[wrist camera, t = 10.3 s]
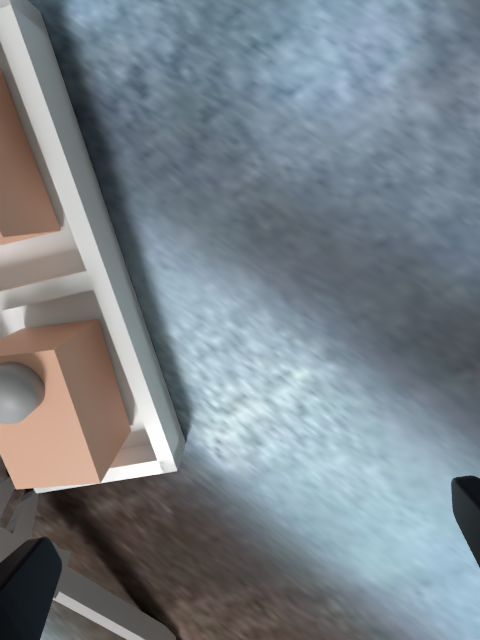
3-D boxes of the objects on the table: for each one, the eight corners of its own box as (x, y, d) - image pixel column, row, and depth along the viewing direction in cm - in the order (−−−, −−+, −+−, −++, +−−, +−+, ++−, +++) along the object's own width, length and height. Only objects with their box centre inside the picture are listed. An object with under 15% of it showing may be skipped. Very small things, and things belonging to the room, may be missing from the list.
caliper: (8, 473, 23) (-79, 565, 17) (19, 467, 23) (-65, 558, 17) (176, 646, 28) (154, 764, 22) (187, 642, 28) (168, 760, 22)
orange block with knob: (98, 319, 18) (39, 360, 13) (131, 430, 20) (90, 500, 15) (21, 328, 18) (-64, 372, 13) (61, 436, 20) (1, 506, 16)
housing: (40, 11, 15) (0, -26, 12) (185, 442, 21) (177, 470, 19) (-133, 69, 16) (-200, 46, 13) (58, 464, 22) (36, 493, 20)
